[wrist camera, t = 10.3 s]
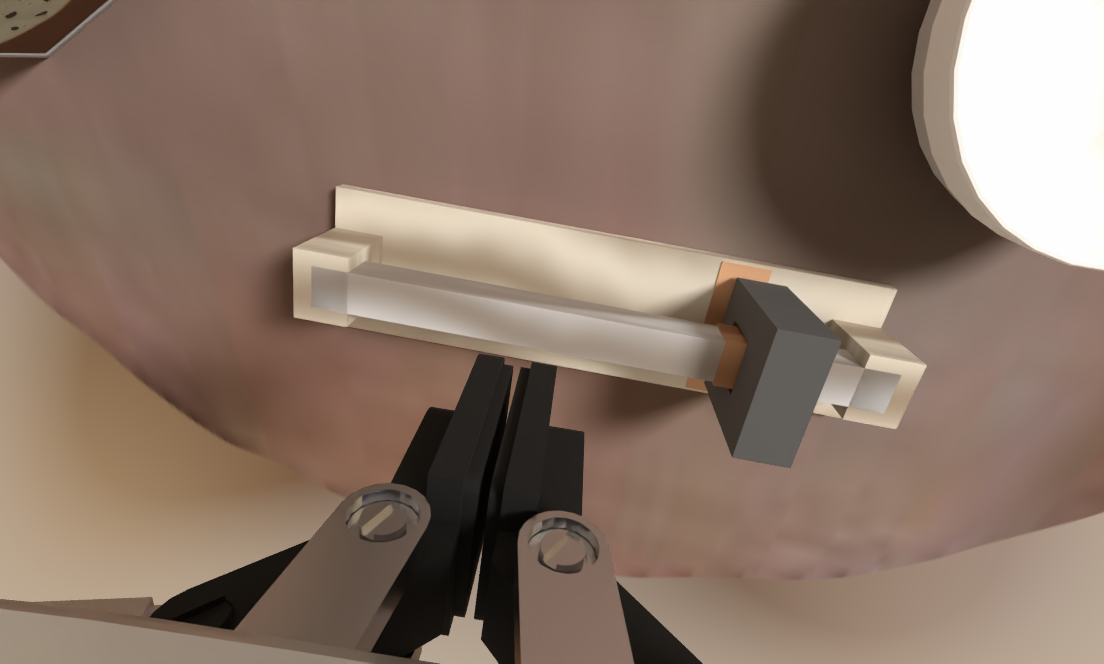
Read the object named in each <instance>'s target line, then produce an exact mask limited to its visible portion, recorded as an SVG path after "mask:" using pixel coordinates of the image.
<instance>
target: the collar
mask: <svg viewBox="0 0 1104 664" xmlns="http://www.w3.org/2000/svg"><path fill="white" fill-rule="evenodd" d="M723 324H728V325H733V326H739V328H740V329H741V331H742V333H743V334H744V336H745V337H746V339H747V341H748V345H747V348H746V351H745V354H744V357H743V360H742V363H741V366H740V369H739V372H738V375H737V378H736V381H735V384H734V387H733V389H729V388H724V387H718V386H713V384H712V382H711V381H706V380H705V382H704V384H705V386H706V389H707V392H708V394H709V397H710V400H711V402H712V405H713V408H714V410H715V413H716V416H717V418H718V421H719V424H720V426H721V429H722V432H723V434H724V437H725V440H726V442H727V445H728V447H729V450H730V453H731V455H732V457H733V458H738V459H744V460H749V461H754V462H760V463H765V464H770V465H776V466H781V467H787V468H791V465H792V463H793V460H794V458H795V455H796V453H797V450H798V448H799V445H800V443H801V441H802V438H803V436H804V433H805V431H806V428H807V426H808V423H809V421H810V418H811V416H812V413H813V411H814V409H815V406H816V404H817V401H818V399H819V396H820V394H821V391H822V389H823V386H824V384H825V382H826V379H827V377H828V374H829V372H830V369H831V367H832V364H833V362H834V359H835V357H836V355H837V352H838V350H839V347H840V345H841V342H842V340H841V339H840V338H839V337H838V336H837V335H836V334H835V333H834V332H833V331H831V330H830V329H829V328H828V327H827V326H826V325H825V324H824V323H823V322H822V321H821V320H820V319H819V318H818V317H817V316H816V315H815V314H814V313H813V312H812V311H811V310H810V309H809V308H808V307H807V306H806V305H805V304H804V303H803V302H802V301H801V300H800V299H799V298H798V297H797V296H796V295H795V294H794V293H793V292H792V291H791V290H790V289H789V288H788V287H787V286H782V285H777V284H771V283H766V282H760V281H755V280H749V279H744V278H739V277H737V279H736V282H735V285H734V288H733V292H732V295H731V298H730V301H729V304H728V308H727V311H726V314H725V317H724V321H723Z"/></svg>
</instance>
